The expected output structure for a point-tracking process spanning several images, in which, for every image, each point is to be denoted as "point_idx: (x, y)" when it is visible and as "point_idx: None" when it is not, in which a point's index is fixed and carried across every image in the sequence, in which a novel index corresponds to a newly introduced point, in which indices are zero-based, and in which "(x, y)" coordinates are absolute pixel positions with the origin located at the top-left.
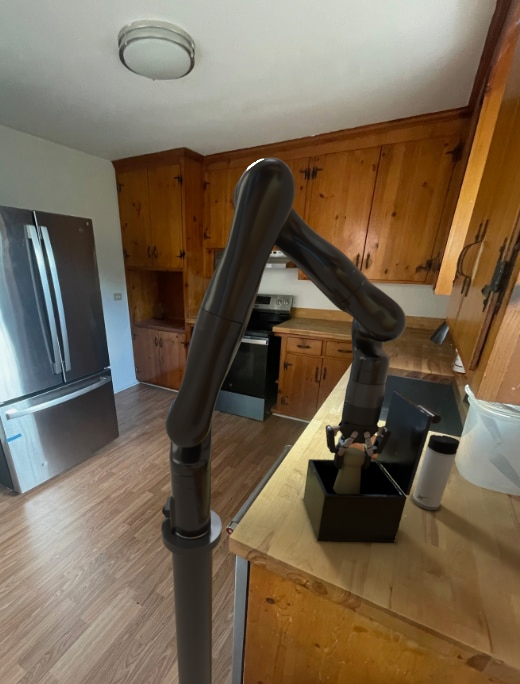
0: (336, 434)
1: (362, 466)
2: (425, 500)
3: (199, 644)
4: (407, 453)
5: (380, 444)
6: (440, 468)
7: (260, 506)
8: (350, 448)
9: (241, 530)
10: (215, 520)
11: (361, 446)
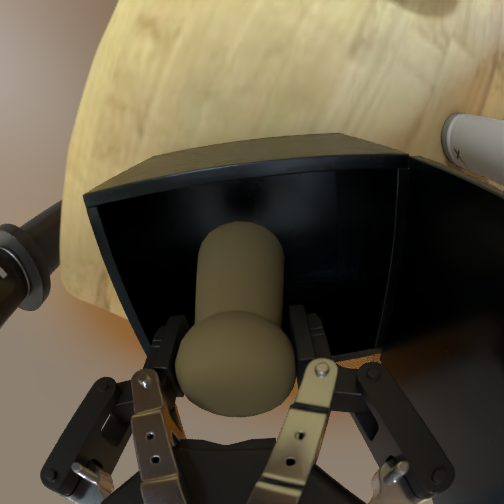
0: (110, 482)
1: (290, 326)
2: (461, 163)
3: None
4: (436, 430)
5: (369, 444)
6: None
7: (68, 206)
8: (217, 389)
9: (62, 275)
10: (26, 259)
11: None
